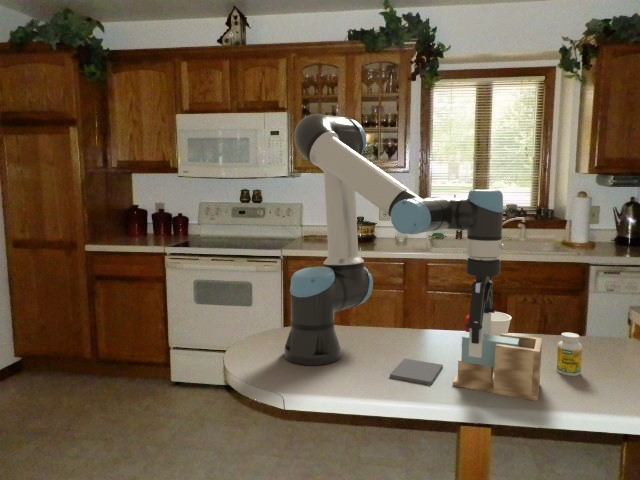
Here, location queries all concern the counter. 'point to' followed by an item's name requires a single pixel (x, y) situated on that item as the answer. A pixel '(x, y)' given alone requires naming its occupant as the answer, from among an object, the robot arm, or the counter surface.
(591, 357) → the counter surface
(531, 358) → the cradle
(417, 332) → the counter surface
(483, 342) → the bar
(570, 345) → the supplement bottle
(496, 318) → the cup
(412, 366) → the mat
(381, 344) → the counter surface
